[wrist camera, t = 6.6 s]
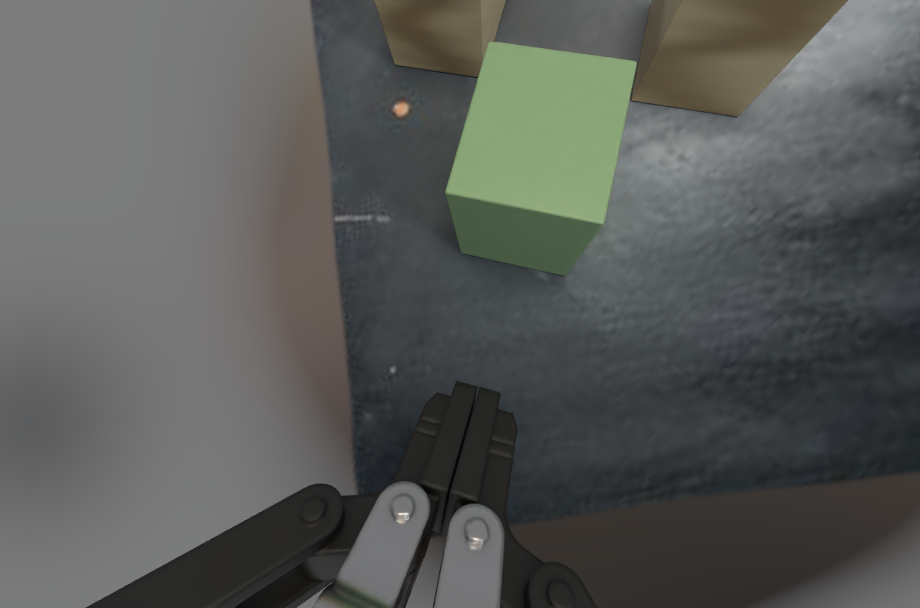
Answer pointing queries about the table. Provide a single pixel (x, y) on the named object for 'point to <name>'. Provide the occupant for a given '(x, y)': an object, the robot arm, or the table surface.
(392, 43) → the birch block left
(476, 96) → the green block
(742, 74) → the birch block right
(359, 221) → the table surface
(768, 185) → the table surface
